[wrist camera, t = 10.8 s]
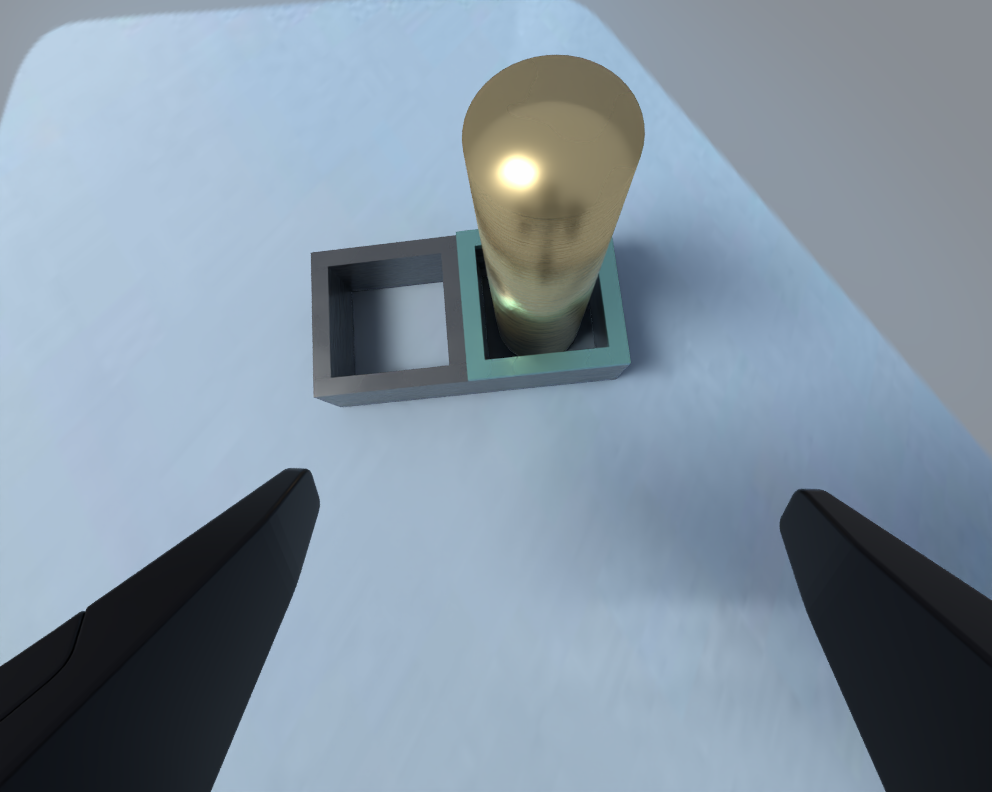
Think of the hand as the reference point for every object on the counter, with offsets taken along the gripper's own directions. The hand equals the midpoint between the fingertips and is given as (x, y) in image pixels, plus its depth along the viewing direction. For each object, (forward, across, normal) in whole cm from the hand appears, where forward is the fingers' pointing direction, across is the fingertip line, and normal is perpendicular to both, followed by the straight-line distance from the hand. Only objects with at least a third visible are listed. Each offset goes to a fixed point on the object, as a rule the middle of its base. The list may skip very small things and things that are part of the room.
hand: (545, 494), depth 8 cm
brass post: (+15, 0, +4) cm, 16 cm away
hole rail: (+15, +3, +4) cm, 16 cm away
